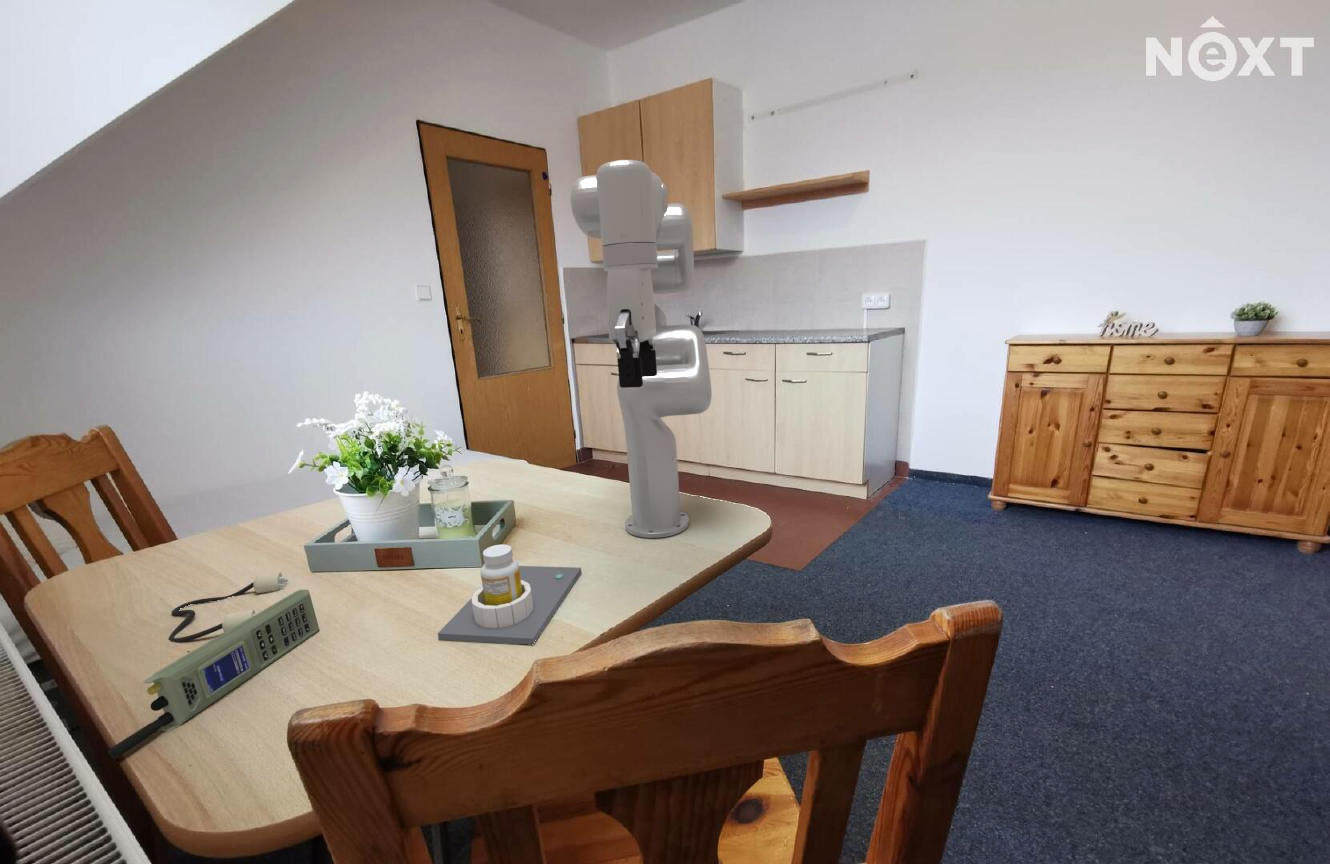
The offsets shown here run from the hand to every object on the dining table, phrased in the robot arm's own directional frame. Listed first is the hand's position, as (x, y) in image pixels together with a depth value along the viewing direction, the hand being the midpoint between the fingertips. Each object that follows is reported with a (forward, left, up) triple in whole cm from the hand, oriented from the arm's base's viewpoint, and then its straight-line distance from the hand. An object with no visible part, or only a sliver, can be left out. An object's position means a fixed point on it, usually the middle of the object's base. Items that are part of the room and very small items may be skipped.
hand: (639, 381), depth 83 cm
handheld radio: (+30, -49, -33) cm, 66 cm away
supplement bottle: (+12, -20, -32) cm, 39 cm away
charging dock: (+8, -20, -32) cm, 39 cm away
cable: (+15, -66, -33) cm, 75 cm away
